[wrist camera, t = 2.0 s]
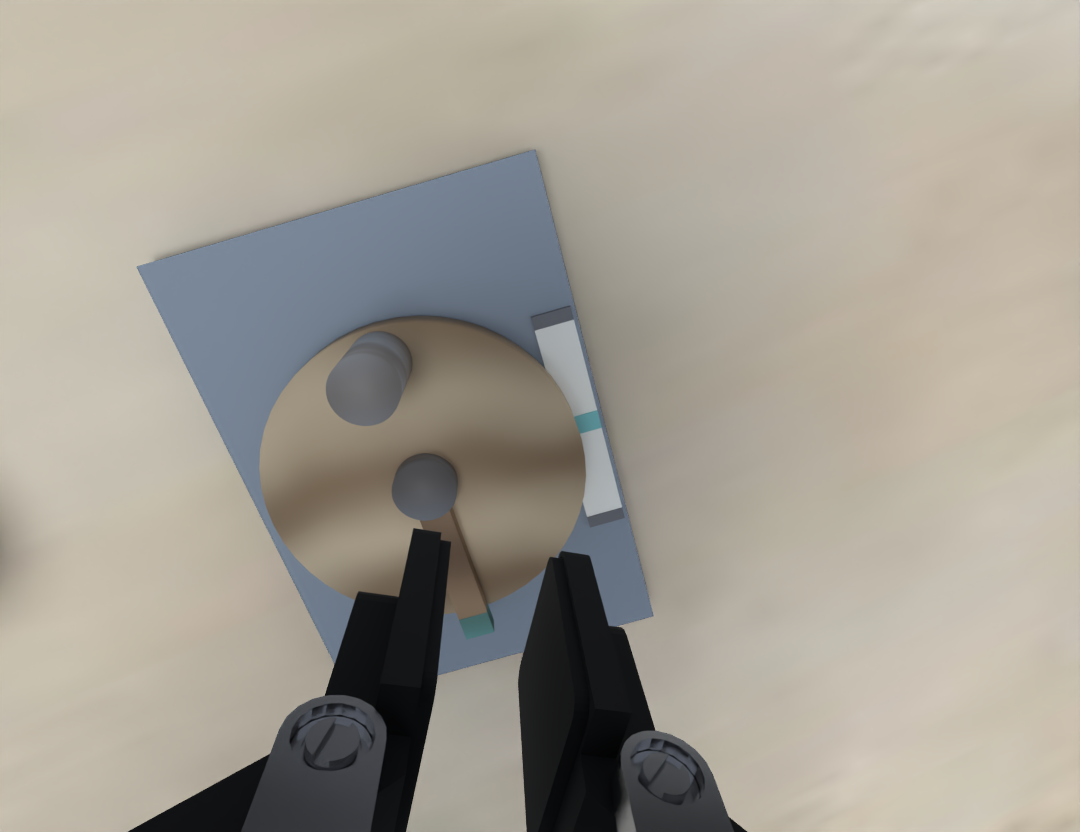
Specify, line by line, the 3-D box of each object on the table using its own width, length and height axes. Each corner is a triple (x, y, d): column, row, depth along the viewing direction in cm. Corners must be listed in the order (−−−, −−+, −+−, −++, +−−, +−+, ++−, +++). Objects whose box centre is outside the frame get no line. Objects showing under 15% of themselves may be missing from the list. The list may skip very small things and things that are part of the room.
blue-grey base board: (647, 598, 36) (654, 619, 34) (357, 678, 36) (351, 702, 34) (532, 150, 27) (535, 149, 26) (154, 262, 28) (133, 267, 26)
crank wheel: (615, 568, 33) (639, 641, 28) (347, 642, 33) (321, 728, 28) (536, 275, 27) (547, 298, 22) (215, 368, 28) (152, 412, 22)
